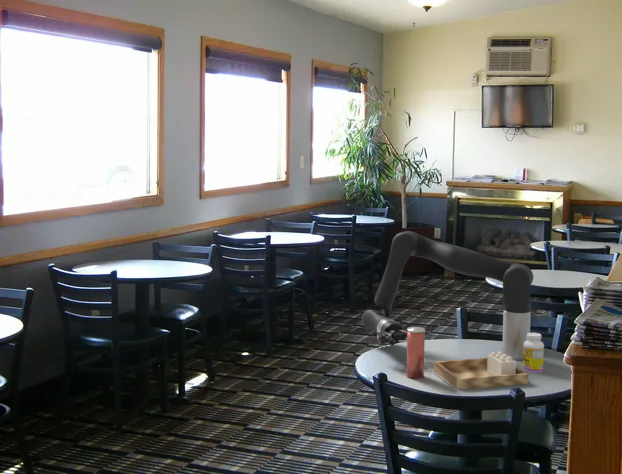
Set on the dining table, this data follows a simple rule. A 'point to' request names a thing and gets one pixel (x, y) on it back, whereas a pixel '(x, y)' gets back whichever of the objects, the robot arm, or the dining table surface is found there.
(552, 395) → the dining table surface
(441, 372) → the tray
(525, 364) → the supplement bottle
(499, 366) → the white toy brick
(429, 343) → the dining table surface
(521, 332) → the robot arm
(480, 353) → the dining table surface
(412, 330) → the coffee tin
